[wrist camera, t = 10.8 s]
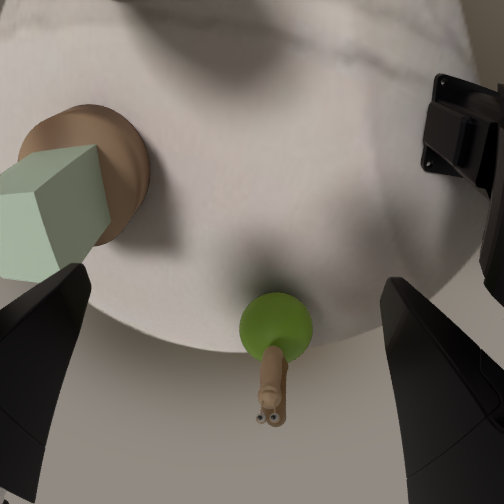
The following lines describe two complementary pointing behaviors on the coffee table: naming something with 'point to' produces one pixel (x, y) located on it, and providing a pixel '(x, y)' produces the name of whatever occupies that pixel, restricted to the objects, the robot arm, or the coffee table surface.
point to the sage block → (50, 212)
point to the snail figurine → (275, 347)
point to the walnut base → (100, 156)
